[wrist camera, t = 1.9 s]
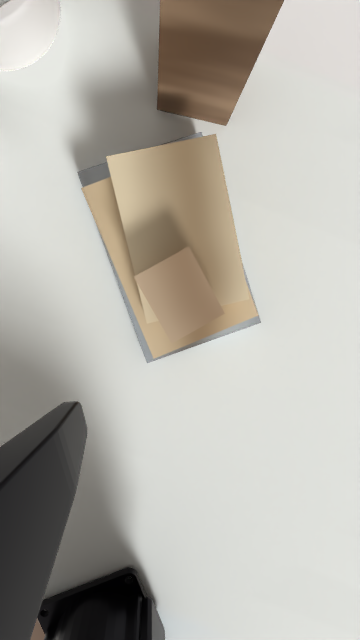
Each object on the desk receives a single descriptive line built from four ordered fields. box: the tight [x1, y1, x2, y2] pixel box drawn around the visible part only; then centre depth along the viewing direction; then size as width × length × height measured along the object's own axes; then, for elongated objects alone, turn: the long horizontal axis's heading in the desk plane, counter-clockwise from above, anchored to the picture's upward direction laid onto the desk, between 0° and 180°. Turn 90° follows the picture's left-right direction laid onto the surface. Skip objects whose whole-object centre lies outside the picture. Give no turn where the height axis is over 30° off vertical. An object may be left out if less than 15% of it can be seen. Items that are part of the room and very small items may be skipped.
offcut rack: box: [77, 132, 261, 363], centre depth 16 cm, size 7×11×6 cm, turn 19°
